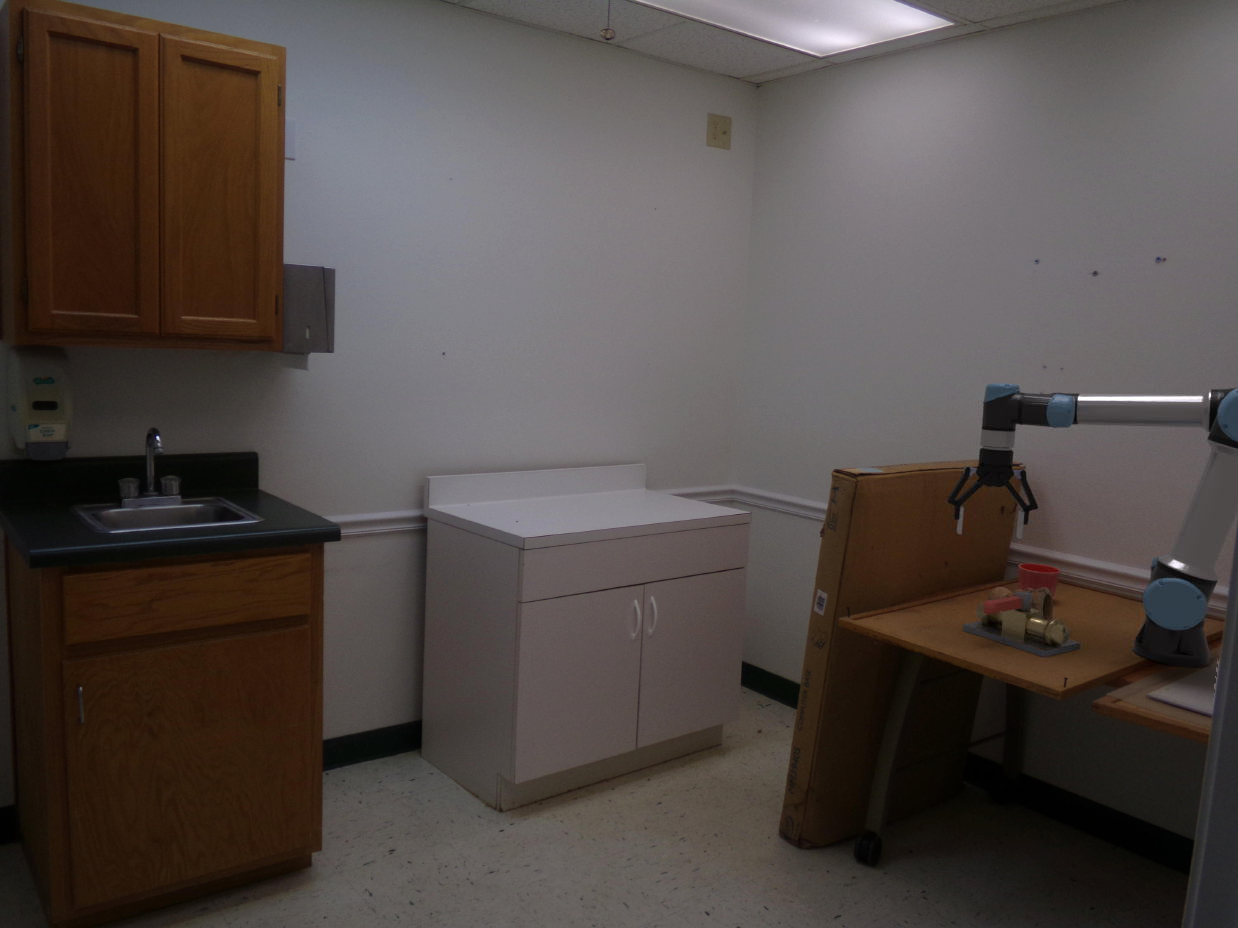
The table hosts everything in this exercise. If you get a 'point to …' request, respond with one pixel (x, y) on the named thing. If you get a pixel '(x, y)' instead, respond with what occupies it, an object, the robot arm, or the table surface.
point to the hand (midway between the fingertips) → (988, 535)
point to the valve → (1024, 631)
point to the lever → (1009, 603)
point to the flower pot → (1038, 577)
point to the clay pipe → (1039, 599)
